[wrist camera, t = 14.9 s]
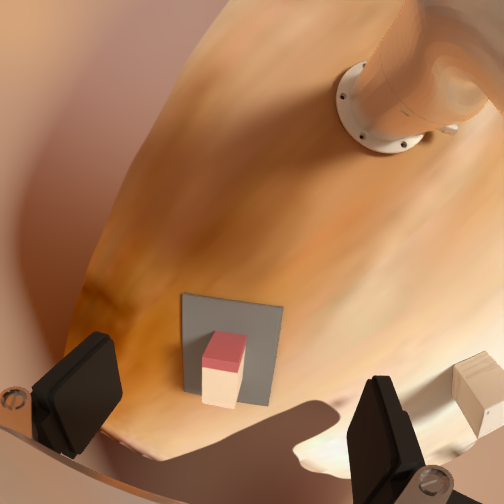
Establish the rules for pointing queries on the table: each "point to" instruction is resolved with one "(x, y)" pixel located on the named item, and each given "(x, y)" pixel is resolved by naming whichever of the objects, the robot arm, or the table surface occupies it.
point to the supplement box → (480, 392)
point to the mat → (239, 322)
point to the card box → (223, 369)
